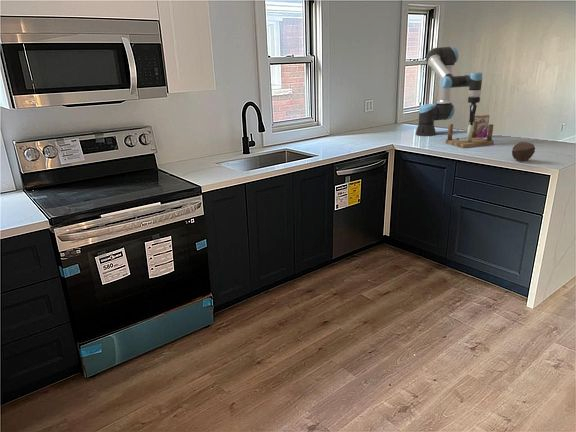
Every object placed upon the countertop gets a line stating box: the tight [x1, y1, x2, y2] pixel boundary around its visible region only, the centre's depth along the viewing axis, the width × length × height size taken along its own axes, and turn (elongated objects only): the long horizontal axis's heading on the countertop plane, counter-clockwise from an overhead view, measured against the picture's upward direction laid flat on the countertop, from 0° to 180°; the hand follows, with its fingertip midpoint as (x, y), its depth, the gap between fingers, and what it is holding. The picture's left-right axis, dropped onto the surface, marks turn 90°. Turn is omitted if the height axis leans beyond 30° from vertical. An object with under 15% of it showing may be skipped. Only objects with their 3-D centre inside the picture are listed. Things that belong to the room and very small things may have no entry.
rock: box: [511, 141, 536, 162], centre depth 244 cm, size 12×10×10 cm
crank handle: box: [454, 124, 473, 142], centre depth 289 cm, size 11×3×11 cm, turn 71°
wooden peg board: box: [444, 121, 494, 149], centre depth 293 cm, size 20×24×14 cm
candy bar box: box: [474, 114, 490, 138], centre depth 312 cm, size 11×5×16 cm, turn 84°
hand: (470, 131), depth 294 cm, fingers closed
